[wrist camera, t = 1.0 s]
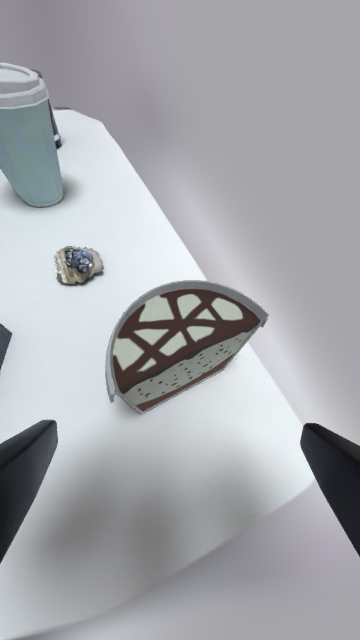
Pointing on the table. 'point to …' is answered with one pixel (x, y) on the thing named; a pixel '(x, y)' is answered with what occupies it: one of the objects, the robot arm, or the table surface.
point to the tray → (4, 341)
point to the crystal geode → (77, 264)
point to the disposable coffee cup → (28, 137)
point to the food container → (177, 340)
